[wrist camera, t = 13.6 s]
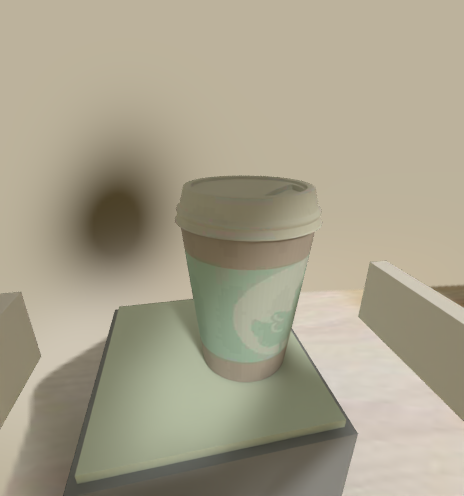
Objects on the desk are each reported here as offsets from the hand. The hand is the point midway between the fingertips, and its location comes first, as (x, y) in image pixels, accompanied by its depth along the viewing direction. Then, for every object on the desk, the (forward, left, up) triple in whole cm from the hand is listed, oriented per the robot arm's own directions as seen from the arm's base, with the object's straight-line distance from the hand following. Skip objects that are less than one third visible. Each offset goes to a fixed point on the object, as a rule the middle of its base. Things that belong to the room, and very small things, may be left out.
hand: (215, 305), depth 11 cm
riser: (0, -7, -17) cm, 19 cm away
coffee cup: (-3, -7, -9) cm, 11 cm away
